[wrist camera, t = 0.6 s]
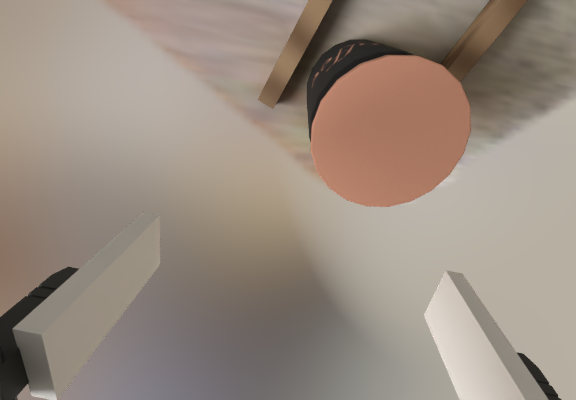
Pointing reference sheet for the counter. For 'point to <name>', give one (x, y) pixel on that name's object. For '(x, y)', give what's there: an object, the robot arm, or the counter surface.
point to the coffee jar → (384, 122)
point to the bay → (457, 62)
